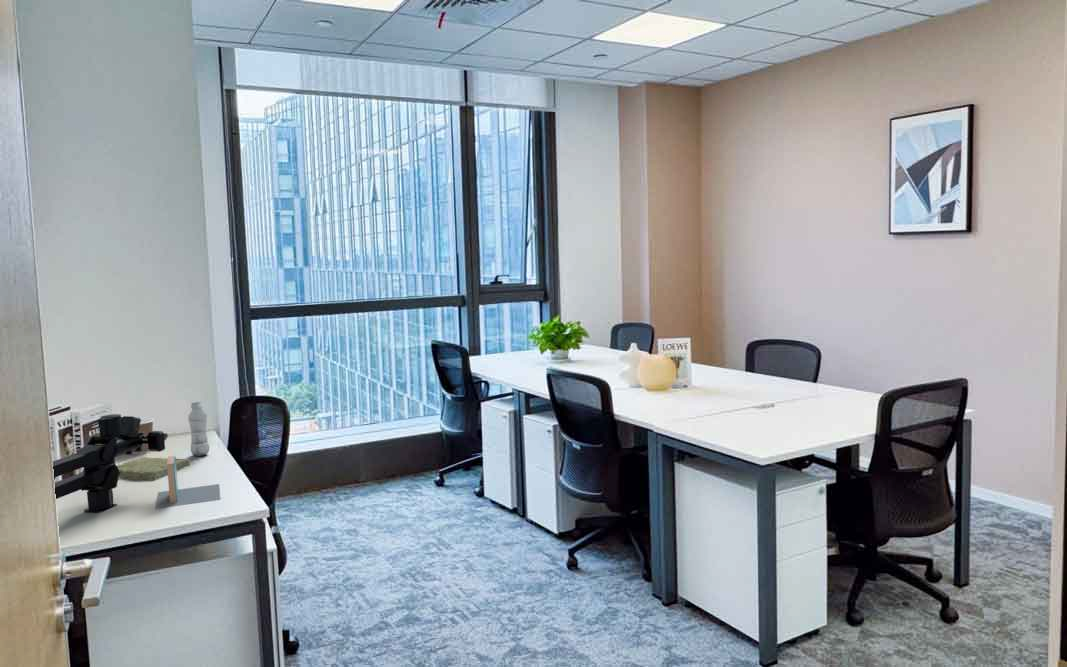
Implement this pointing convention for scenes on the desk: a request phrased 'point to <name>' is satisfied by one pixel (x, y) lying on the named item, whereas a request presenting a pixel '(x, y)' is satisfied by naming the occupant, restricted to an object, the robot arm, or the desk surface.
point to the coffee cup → (145, 433)
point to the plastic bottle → (198, 430)
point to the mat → (189, 496)
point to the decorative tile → (148, 468)
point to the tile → (172, 479)
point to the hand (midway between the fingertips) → (154, 434)
